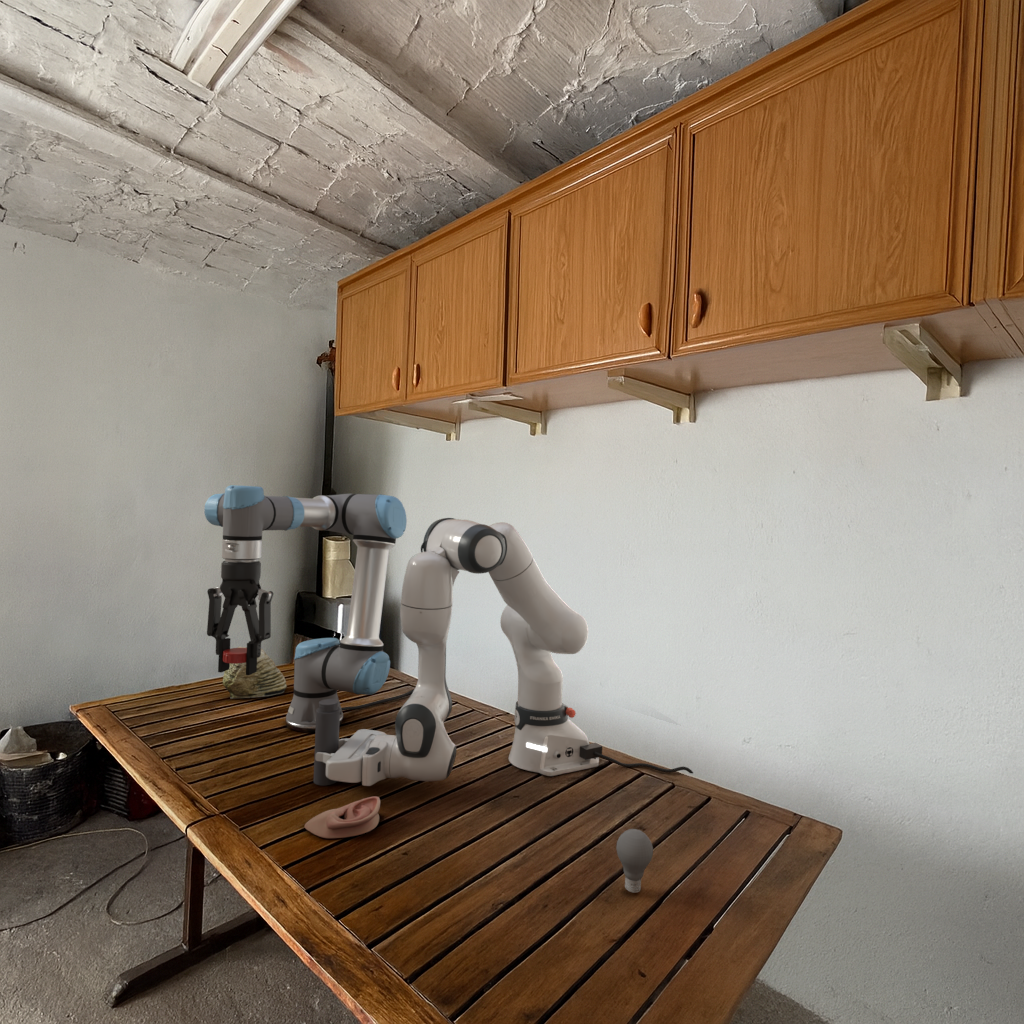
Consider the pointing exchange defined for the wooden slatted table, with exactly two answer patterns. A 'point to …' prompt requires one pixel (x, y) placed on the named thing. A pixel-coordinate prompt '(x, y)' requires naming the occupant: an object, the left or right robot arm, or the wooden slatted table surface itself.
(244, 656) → the lid
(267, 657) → the fossil
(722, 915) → the wooden slatted table surface
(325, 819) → the anatomical model
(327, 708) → the jar
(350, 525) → the left robot arm
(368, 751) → the right robot arm
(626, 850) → the light bulb
